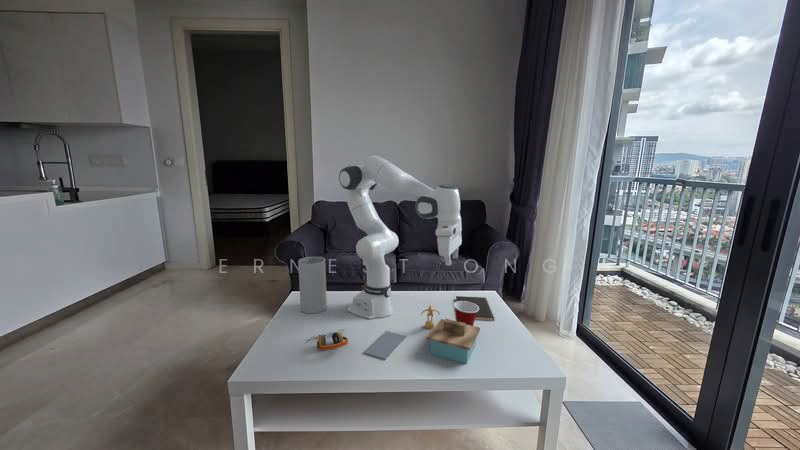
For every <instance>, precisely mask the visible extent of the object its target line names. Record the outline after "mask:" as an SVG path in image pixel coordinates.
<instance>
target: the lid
mask: <svg viewBox="0 0 800 450" xmlns="http://www.w3.org/2000/svg"><path fill="white" fill-rule="evenodd" d="M480 331H481V327H479V326H475V325H473V326H471V325H466V323H463V322H458V321H456V320H453V319H449V318H445V319H443V318H441V319H440V320H438V322H437V324H436V325H434V328H433V329H431V331H430V332H429V334H428V335H427V336H426V340H428V341H430V340H432V341H435V342H439V343H443V344H447V345H451V346H455V347H459V348H463V349H467V350H470V349H471V347H472V345H473V343H474V341H475V339H476V340H477V336H478V335H479V333H480Z"/></svg>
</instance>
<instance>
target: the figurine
mask: <svg viewBox="0 0 800 450" xmlns="http://www.w3.org/2000/svg"><path fill="white" fill-rule="evenodd" d="M425 312H427V313H426V317H427V318H426V319H427V320H426V321H425V322H424V326H425V329H427V330H433V329H434V327H435V323H434V321H433V319H434V318H433V317H434V313H433V312H437V314H438V315H439V316H441V314H440V312H439V310H437V309H435V308H433V306H432V304H430V305H429V306H428V308H427V309H424V310H423V311H422V312H421V313H420V315H422V314H423V313H425Z"/></svg>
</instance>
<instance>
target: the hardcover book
mask: <svg viewBox="0 0 800 450" xmlns="http://www.w3.org/2000/svg"><path fill="white" fill-rule="evenodd" d="M455 298H456V302H457V301H467V302H471V303H474V304H476V305H477V306H478V307H479V311H478V312H477V314H476V317H475V320H476V321H493V322H494V321H495V317H494V313H493V311H492V309H491V307H490V305H489V301H488V299H487V297H484V296H483V297H481V296H479V297H478V296H462V295H461V296H460V295H459V296H457V295H456V296H455Z"/></svg>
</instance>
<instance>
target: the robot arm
mask: <svg viewBox="0 0 800 450" xmlns="http://www.w3.org/2000/svg"><path fill="white" fill-rule="evenodd" d="M338 180H339V184H340V186H341V187H342V188H343V189H345V190H346V191H345V200H346V203H347V205H348V208H349V211H350V213H351V215H352V218H353V220H354V222H355V225H356V227H357V228H358V229H360V230H361V231H363V232H365V233H366V234H367V235H366V236H363V237H362V238H361V239H359V240H358V241H357V242H356V245H355V250H356V254H357V256H358V257H359V258H361V260H363V262H364V265H365V269H366V282H365V283H364V284H363V285H361V288H362V290H361V291H360V292H359V293H357V294H356V295H355V296H354V297H353V299H352V303H351V304H349V306H348V307H347V312H349V313H352V314H354V315H357V316H358V317H362V318H365V319H368V320H372V319H376V318H377V319H379V318H385V317H388V316H390V315H392V314H393V313H394V308H393V305H392V304H393V303H392V299H391V293H392V290H391V289H392V284H391V282H390V281H391V269H390V266H389V265H387V264H386V260H385V255H387V254H390V253H391V252H393V251H395V249H396V248H397V247H398V246H399V241H400V240H399V237H398V235H397V234H396V232H394V231H392V230H391V229H389V227H388V226H387V225H386V224H385V223H384V222H383V221H382V219H381V218H380V217H379V215H378V212H377V210H376V208H375V206H374V204H373V202H372V199H371V198H370V196H369V191H373V190H374V189H375V188H376V187H377V185H378V186H379V187H380V188H382V189H383V190H386V191H388V192H392V193H396V192H399V193H400V192H402V193H403V192H404V193H411V194H413V195H415V196H417V197H418V198H417V199H416V201H415V204H414V206H415V212H416V214H417V216H419V217H420V218H422V219H423V220H425V219H426V220H428V219H429V220H430V219H433V218H437V222H438V223H437V228H436V229H435V236H437V239H436V241H437V249H438V254H439V257H444V262H445V266H446V267H447V266H452V260H451V256H452V259H455V260H456V259H458V257H459V255H458V254H459V247H460V246H461V245H462V242H463V240H462V239H463V238H462V230H463V228H462V225H463V224H462V217H461V199H460V192H459V190H458V187H456V186H454V185H452V184H451V185H450V184H441V185H438V186H436V187H435V188H434V187H432V186H431V185H429V184H427V183H425V182H423V181H422V180H420V179H418V178H416V177H414V176H412V175H410V173H408V172H405V170H403V169H401V168H400V167H398V166H396V165H395V164H394V163H392V162H390V161H388V160H387V159H385V158H383V157H381V156H378V155H370V156H369V157H367V158H366V159H365V161H364V162H363V164H362V163H361V164H355V165H348V166H345V167H344V168H342V169H341V170H340V171H339V174H338Z"/></svg>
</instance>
